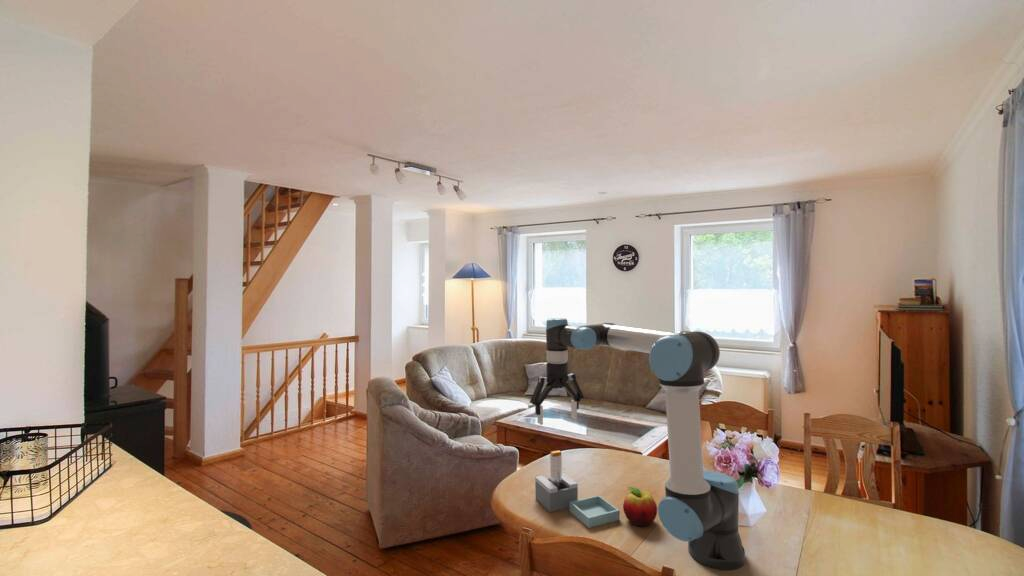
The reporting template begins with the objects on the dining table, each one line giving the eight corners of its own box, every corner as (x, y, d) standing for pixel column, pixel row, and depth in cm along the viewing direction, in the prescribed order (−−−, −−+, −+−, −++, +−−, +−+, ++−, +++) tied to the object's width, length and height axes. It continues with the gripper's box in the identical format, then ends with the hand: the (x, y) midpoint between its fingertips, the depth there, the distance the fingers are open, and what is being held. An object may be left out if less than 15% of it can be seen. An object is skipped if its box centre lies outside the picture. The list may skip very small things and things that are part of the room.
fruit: (637, 533, 150) (637, 501, 150) (616, 517, 160) (616, 487, 160) (664, 525, 155) (664, 494, 155) (641, 510, 165) (641, 481, 164)
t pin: (562, 497, 174) (561, 448, 174) (567, 502, 171) (567, 452, 170) (544, 501, 172) (544, 451, 171) (550, 506, 168) (549, 455, 167)
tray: (619, 519, 158) (619, 510, 158) (588, 527, 154) (588, 518, 154) (599, 504, 169) (598, 495, 169) (569, 511, 165) (569, 501, 165)
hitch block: (577, 505, 168) (577, 483, 168) (549, 512, 164) (549, 489, 164) (562, 492, 178) (561, 471, 178) (535, 498, 174) (535, 476, 174)
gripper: (582, 357, 178) (582, 413, 179) (520, 362, 169) (521, 422, 170) (593, 360, 171) (593, 419, 172) (529, 366, 162) (529, 428, 163)
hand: (557, 421), depth 171 cm, fingers open, 13 cm apart
